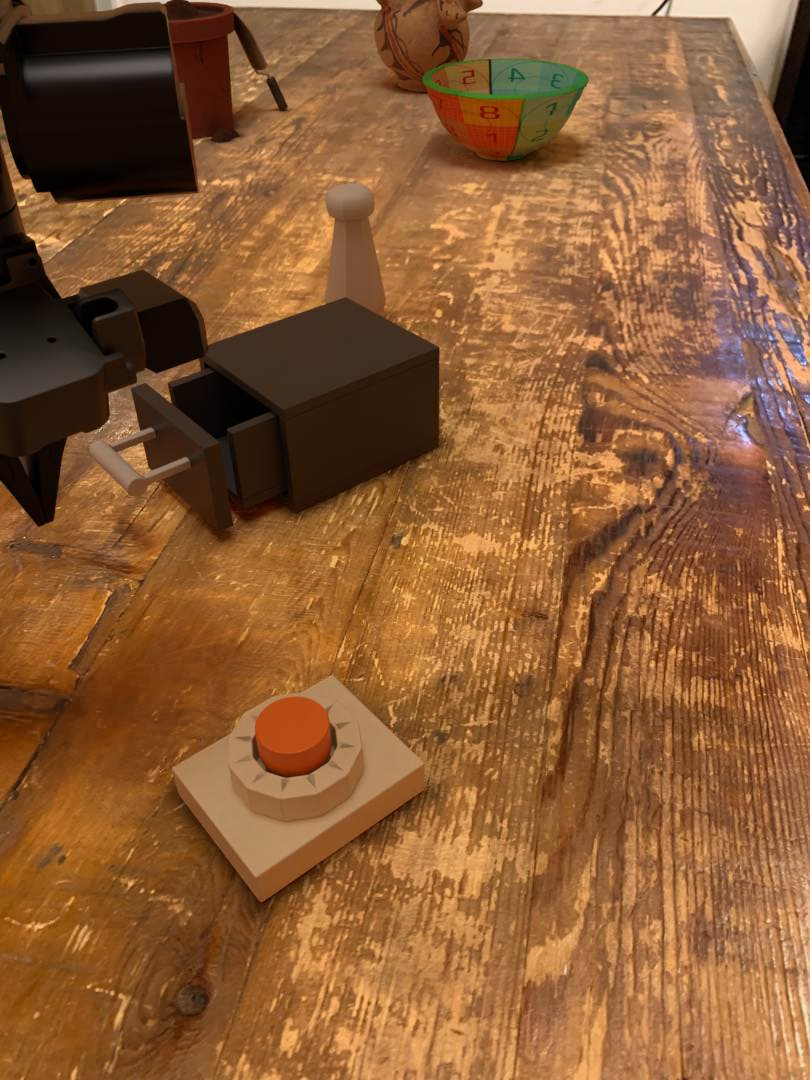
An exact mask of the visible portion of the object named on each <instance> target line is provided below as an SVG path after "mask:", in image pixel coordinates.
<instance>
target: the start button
mask: <svg viewBox="0 0 810 1080" xmlns="http://www.w3.org/2000/svg"><path fill="white" fill-rule="evenodd" d="M255 736H256V741H257V747H258V752H259V757H260V759H261V761H262V763H263V764H264V765H265V766H266V767H267V768H268V769H269V770H271V771H272V772H274V773H276V774H279V775H283V776H300V775H304V774H307V773H310V772H312V771H314V770H315V769H317V768H318V767H320V766H321V765H322V764H323V763H324V762H325V760H326V759H327V757H328V756H329V754H330V751H331V746H332V742H331V732H330V722H329V716H328V714H327V712H326V710H325V709H324V708H323V707H322V706H321V705H320V704H319V703H317V702H316V701H314V700H312V699H309V698H305V697H287V698H283V699H280V700H277V701H275V702H273V703H271V704H270V705H268V706H267V707H266V708H265V709H264V710H263V711H262V712H261V713H260V714H259V716H258V718H257V720H256V723H255Z"/></svg>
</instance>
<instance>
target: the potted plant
mask: <svg viewBox="0 0 810 1080" xmlns="http://www.w3.org/2000/svg"><path fill="white" fill-rule="evenodd" d="M162 4H163V5H164V6H165V7H166V11H167V17H168V24H169V30H170V36H171V41H172V45H173V50H174V56H175V61H176V67H177V73H178V79H179V83H184V86H185V92H186V99H187V105H188V112H189V119H190V126H191V133H192V139H201V138H209V137H211V138H210V141H212V142H215V143H222V142H230V141H231V140H232V139H233V138H237V137H241V134H239V133H238V132H237V130H236V129H235V128H234V126H235V125H234V112H233V96H232V95H233V94H232V82H231V81H232V80H231V69H230V68H231V67H230V65H231V64H230V51H229V37H228V35H231V34H232V33H233V32H235V34H236V36H237V39H238V41H239V43H240V45H241V47H242V49H243V51H244V54H245V56H246V59H247V61H248V62H249V64H250V66H251V68H252V69H253V70H254V72H255V74H256V75H258V76H266V77H267V78H266V80H265V81H266V84H267V87H268V89H269V91H270V93H271V95H272V97H273V100H274V101H275V104H276V106H277V108H278V110H279V111H281V112H282V111H285V110H286V109H288V103H287V101H286V99H285V97H284V95H283V92H282V90H281V88H280V85H279V83H278V81H277V80H276V77H275V76H273V75H272V76H271V74H270V73H269V71H265V70H266V69H267V68H268V62H267V60H266V57H265V55H264V53H263V51H262V49H261V46H260V45H259V42H258V40H257V38H256V36H255V34H254V31H253V30H252V28H251V27H250V25H248V24H247V22H246V21H245V20H244V19H243V18H242V17H241V16H240V15H239V14H238V13H237V12H236V11H235V10H234V7H233V6H232V5H228V4H226V3H225V4H224V3H220V2H210V1H188V0H168V1H166V2H165V3H162Z"/></svg>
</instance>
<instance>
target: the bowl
mask: <svg viewBox="0 0 810 1080" xmlns="http://www.w3.org/2000/svg"><path fill="white" fill-rule="evenodd" d="M589 79H590V78H589V76H588V75H587V73H585V71H583V70H580V69H578V68H576V67H574V66H571V65H567V64H564V63H559V62H554V61H547V60H542V59H541V60H540V59H530V58H513V57H512V58H505V57H504V58H502V57H501V58H500V57H499V58H482V59H471V60H464V61H462V62H456V63H451V64H447V65H443V66H440V67H437V68H435V69H432V70H430V71H428V72H427V73H426V74H425V75H424V76H423V78H422V81H423V84H424V86H425V87H426V89H427V92H426V93H427V96H428V98H429V100H430V101H431V102H432V106H433V108H434V111H435V113H436V117H437V118H438V120H439V122H440V123H441V125H442V126H443V128H444V129H445V130H446V131H447V133H448V134H449V135H450V136H451V137H452V139H454V140H455V141H456V142H457V143H459V145H461V146H462V147H464V148H466V149H467V150H469V151H470V152H472V153H475V154H476V156H477V157H479V158H482V159H485V160H490V161H501V162H502V161H516V160H520V159H522V158H525V157H526V156H528V154H531V153H532V152H534V151H536V150H538V149H540V148H542V147H543V146H545V145H546V144H547V143H549V142H550V141H552V139H553V138H554V137H556V135H557V134H558V133H560V131H561V130H562V129H563V128H564V126H565V125H566V124H567V122H568V120H569V119H570V118H571V115H572V113H573V111H574V110H575V107H576V106H577V103H578V101H579V100H580V99H581V97H582V95H583V92H584V89H585V88H586V87H587V85H588V83H589Z"/></svg>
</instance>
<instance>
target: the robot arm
mask: <svg viewBox="0 0 810 1080" xmlns="http://www.w3.org/2000/svg"><path fill="white" fill-rule="evenodd" d="M163 4H164V3H162V2H160V1H151V2H150V1H149V2H134V3H126V4H124V5H122V6H119V7H115V8H113V9H108V10H98V11H97V10H96V11H95V10H94V11H78V12H61V13H46V14H45V13H41V14H40V13H39V14H33V10H32V8H31V6H30V5H29V3H28V2H27V1H26V0H0V111H1V116H2V122H3V126H4V131H5V135H6V139H7V144H8V147H9V150H10V154H11V156H12V159H13V162H14V165H15V167H16V169H17V171H18V174H19V175H20V177H21V179H23V180H25V181H29V180H31V184H32V187H33V189H34V191H35V193H36V194H43V193H44V194H46V193H50V195H51V197H52V199H53V200H54V202H55V203H56V204H58V205H69V204H81V203H92V202H105V201H117V200H118V201H119V200H129V199H130V200H132V199H143V198H153V197H155V198H156V197H166V196H180V195H191V194H192V195H193V194H199V192H200V191H199V190H200V189H199V180H198V172H197V171H198V170H197V163H196V155H195V148H194V147H195V146H194V141H193V138H192V133H191V126H190V119H189V112H188V105H187V99H186V92H185V86H184V83H179V79H178V73H177V67H176V61H175V56H174V50H173V45H172V41H171V36H170V30H169V24H168V17H167V11H166V7H165V6H164V5H163ZM15 193H16V192H15V190H14V185H13V182H12V179H11V175H10V172H9V168H8V164H7V160H6V155H5V153H4V149H3V146H2V142H1V141H0V483H1V484H2V485H3V486H4V487H5V489H6V490H7V491H8V492H9V494H10V495H11V496H12V497H13V498H14V500H15V501H16V502H17V503H18V504H19V506H20V507H21V508H22V510H23V511H24V512H25V513H26V515H27V516H28V517H29V518H30V519H31V521H33V523H34V524H35V525H36V527H38V528H41V527H43V526H45V525H46V524H50V523H53V522H54V521H55V517H56V510H57V509H56V508H57V500H58V495H59V494H58V493H59V486H60V485H59V484H60V477H61V471H62V462H63V456H64V452H65V447H66V444H67V440H68V438H69V437H71V436H74V435H77V434H80V433H84V434H89V433H92V432H94V431H97V430H99V429H101V428H102V427H104V426H105V425H106V424H107V422H108V421H109V419H110V416H111V412H110V399H109V394H110V393H113V392H116V391H118V390H123V389H125V388H127V387H130V386H132V385H135V384H137V383H138V375H137V374H138V373H141V372H145V370H146V369H147V370H149V371H150V372H152V373H155V374H160V373H162V372H165V371H167V370H171V369H173V368H177V367H179V366H182V365H185V364H188V363H191V362H195V361H196V360H199V358H202V357H205V355H206V353H207V351H208V350H209V348H208V345H209V341H208V336H207V329H206V324H205V318H204V316H203V314H202V313H201V310H200V309H199V307H198V305H197V303H196V302H195V301H193V300H192V299H190V298H189V297H187V296H186V295H184V294H182V293H181V292H180V291H178V290H176V289H175V288H173V287H171V286H170V285H168V284H167V283H165V282H164V281H162V280H160V279H159V278H157V277H156V276H154V275H152V274H151V273H150V272H148V271H147V270H145V269H140V270H137V271H133V272H130V273H129V272H128V273H126V274H123V275H119V276H116V277H113V278H109V279H105V280H102V281H99V282H95V283H92V284H89V285H86V286H82V287H79V290H78V293H76V294H73V295H69V296H65V297H62V296H61V295H60V293H59V292H58V290H57V289H56V287H55V285H54V284H53V282H52V281H51V280H50V278H49V276H48V275H47V272H46V269H45V267H44V262H43V259H42V256H41V255H40V254H39V251H38V248H37V244H36V241H35V240H34V238H32V237H30V236H29V235H27V234H26V230H25V227H24V223H23V219H22V215H21V212H20V211H21V210H20V208H19V205H18V201H17V200H18V199H17V197H16V194H15Z"/></svg>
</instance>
